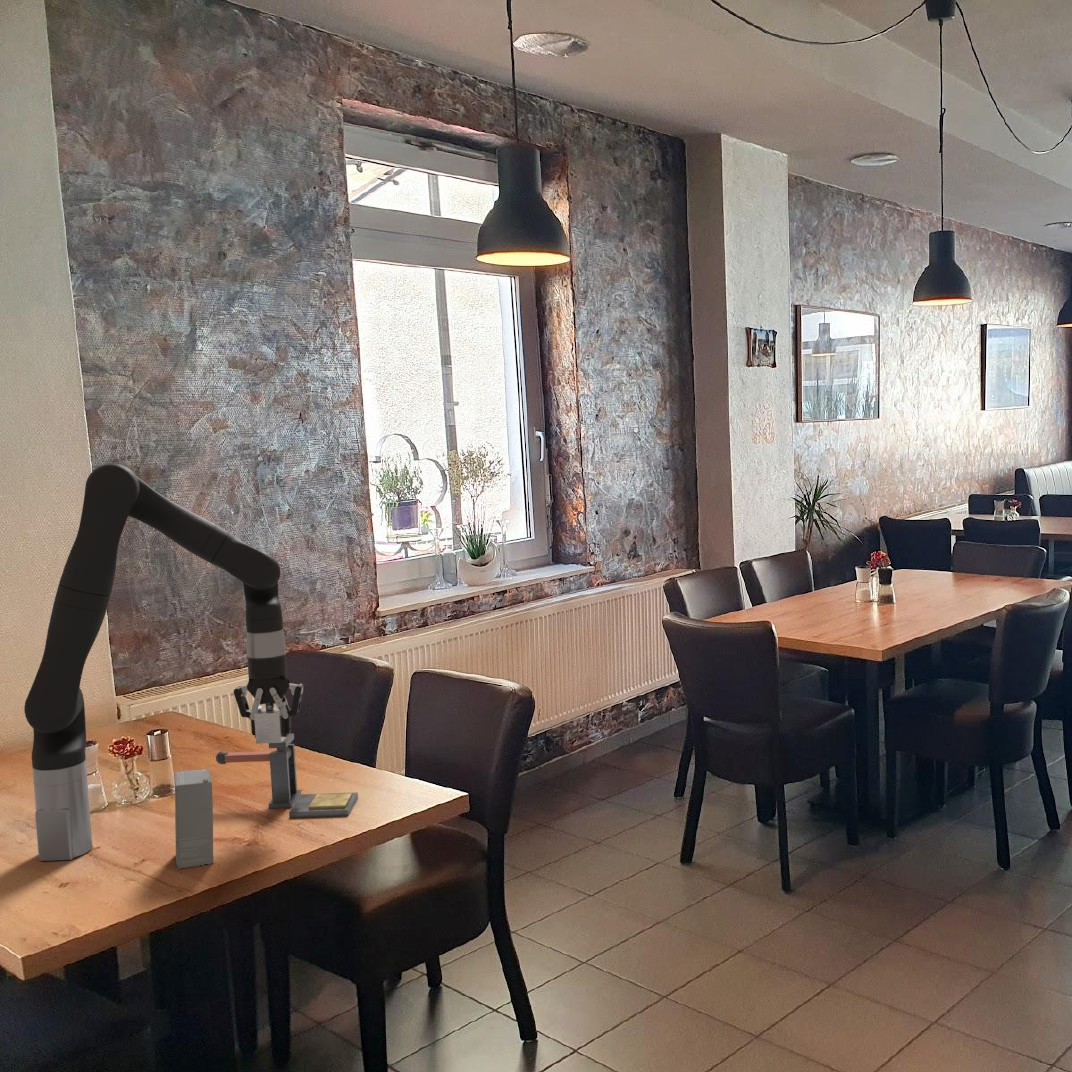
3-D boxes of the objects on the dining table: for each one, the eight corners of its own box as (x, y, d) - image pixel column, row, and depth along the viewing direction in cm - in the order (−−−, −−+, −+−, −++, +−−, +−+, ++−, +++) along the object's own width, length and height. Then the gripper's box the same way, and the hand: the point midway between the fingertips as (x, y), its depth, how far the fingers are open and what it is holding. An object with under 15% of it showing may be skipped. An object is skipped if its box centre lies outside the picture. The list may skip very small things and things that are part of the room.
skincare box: (175, 854, 194) (169, 771, 193) (215, 848, 197) (209, 766, 196) (176, 871, 187) (170, 784, 185) (218, 864, 189) (212, 778, 188)
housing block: (281, 742, 206) (278, 705, 206) (256, 743, 206) (253, 706, 206) (287, 735, 211) (285, 699, 211) (263, 736, 211) (260, 700, 211)
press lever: (286, 764, 220) (286, 751, 219) (213, 767, 220) (212, 754, 220) (291, 758, 224) (291, 746, 224) (219, 761, 224) (218, 748, 224)
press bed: (348, 815, 212) (344, 749, 211) (260, 818, 212) (256, 752, 211) (361, 792, 226) (357, 730, 225) (279, 795, 227) (275, 733, 226)
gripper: (224, 658, 204) (230, 743, 205) (297, 655, 203) (303, 740, 205) (236, 650, 211) (242, 733, 213) (306, 647, 211) (312, 730, 212)
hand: (272, 736), depth 209 cm, fingers closed on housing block, 5 cm apart
